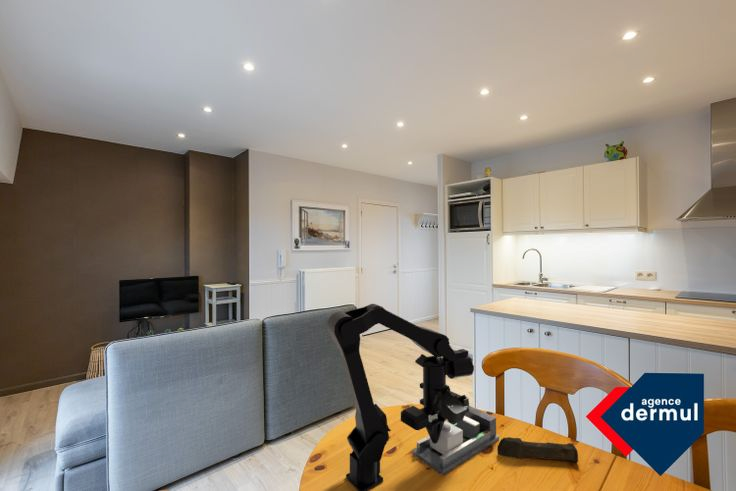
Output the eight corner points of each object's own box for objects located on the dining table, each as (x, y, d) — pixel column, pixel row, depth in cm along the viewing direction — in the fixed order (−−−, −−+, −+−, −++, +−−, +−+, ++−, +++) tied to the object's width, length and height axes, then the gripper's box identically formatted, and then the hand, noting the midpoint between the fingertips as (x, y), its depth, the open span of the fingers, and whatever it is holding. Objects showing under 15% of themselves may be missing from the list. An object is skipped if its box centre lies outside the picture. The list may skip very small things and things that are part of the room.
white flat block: (475, 441, 88) (475, 425, 88) (457, 431, 93) (456, 416, 93) (479, 438, 89) (479, 423, 89) (461, 429, 94) (461, 414, 94)
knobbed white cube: (447, 457, 81) (447, 435, 81) (429, 446, 86) (429, 425, 86) (462, 448, 85) (462, 427, 85) (444, 438, 89) (444, 418, 90)
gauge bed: (442, 475, 77) (442, 449, 77) (412, 454, 85) (412, 431, 85) (499, 439, 91) (499, 418, 91) (469, 424, 99) (468, 404, 99)
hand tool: (572, 456, 84) (571, 437, 84) (579, 465, 80) (578, 446, 80) (495, 449, 87) (495, 432, 87) (498, 458, 83) (498, 440, 84)
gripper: (433, 403, 71) (433, 475, 71) (483, 382, 82) (484, 444, 82) (399, 386, 80) (399, 450, 80) (448, 369, 91) (449, 425, 91)
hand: (434, 442), depth 83 cm, fingers closed
